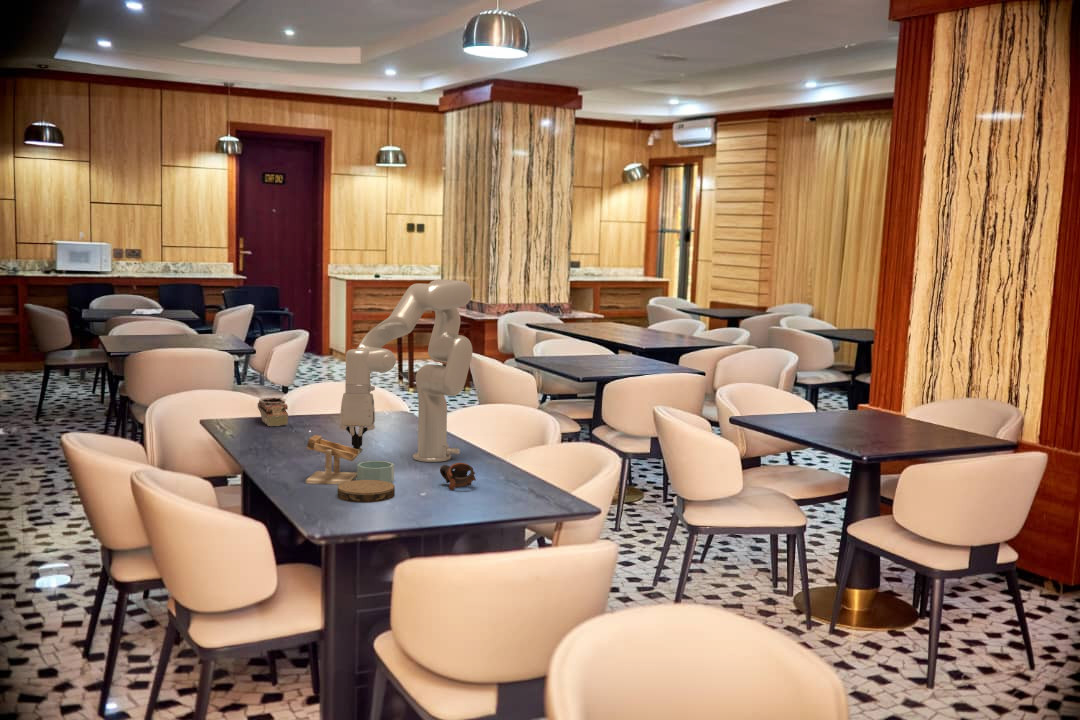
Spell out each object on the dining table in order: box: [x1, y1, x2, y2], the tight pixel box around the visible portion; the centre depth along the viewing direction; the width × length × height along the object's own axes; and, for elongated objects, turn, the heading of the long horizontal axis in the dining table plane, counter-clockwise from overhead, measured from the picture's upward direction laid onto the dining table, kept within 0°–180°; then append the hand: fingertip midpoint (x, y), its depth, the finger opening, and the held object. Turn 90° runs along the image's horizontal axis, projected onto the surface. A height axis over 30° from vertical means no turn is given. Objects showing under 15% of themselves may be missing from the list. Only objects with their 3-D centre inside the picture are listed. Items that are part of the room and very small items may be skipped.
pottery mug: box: [439, 462, 477, 491], centre depth 296 cm, size 12×10×8 cm
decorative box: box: [257, 397, 289, 427], centre depth 394 cm, size 13×20×10 cm, turn 20°
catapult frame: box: [305, 442, 357, 485], centre depth 301 cm, size 13×12×10 cm
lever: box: [306, 434, 363, 462], centre depth 304 cm, size 14×16×3 cm
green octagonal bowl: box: [356, 460, 395, 484], centre depth 301 cm, size 10×10×5 cm
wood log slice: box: [337, 479, 396, 504], centre depth 283 cm, size 16×16×3 cm
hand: (356, 448), depth 311 cm, fingers closed
